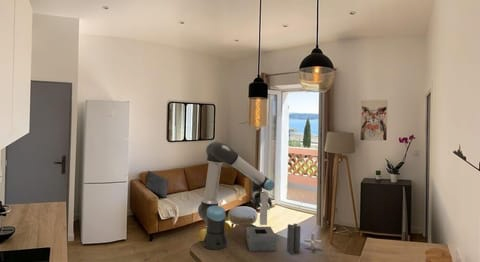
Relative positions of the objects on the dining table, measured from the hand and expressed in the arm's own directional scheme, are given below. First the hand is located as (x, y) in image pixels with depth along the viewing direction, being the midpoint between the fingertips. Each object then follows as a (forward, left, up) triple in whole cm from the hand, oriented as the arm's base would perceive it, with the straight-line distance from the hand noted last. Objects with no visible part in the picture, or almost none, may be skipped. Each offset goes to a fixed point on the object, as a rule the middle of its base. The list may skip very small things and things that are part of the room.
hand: (265, 207), depth 182 cm
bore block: (-4, +4, -26) cm, 26 cm away
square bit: (-3, +5, -12) cm, 13 cm away
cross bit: (+17, +5, -26) cm, 32 cm away
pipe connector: (+27, +14, -26) cm, 40 cm away
